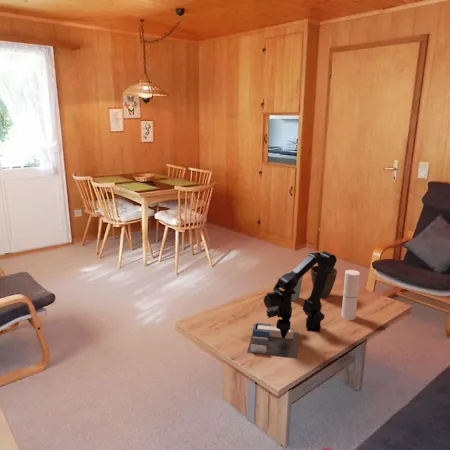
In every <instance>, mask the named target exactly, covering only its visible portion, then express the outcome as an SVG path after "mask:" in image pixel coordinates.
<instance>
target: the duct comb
mask: <svg viewBox="0 0 450 450" xmlns="http://www.w3.org/2000/svg"><path fill="white" fill-rule="evenodd" d="M258 325H263V326H272V324H271V323H263V322H262V323H261V322H256V323H253V327H252V334H251V338H250V340H249V344H248V346H247V350H246V353H247V354H254V355H263V356H271V357H280V358H285V359H286V358H288V359H295V360H296V359H297V360H298V350H299V337H300V335H299V334H300V333H299V332H296V331H295V332H294V333H293V339H288V338H279V337H270V331H265V330H257V328H258Z"/></svg>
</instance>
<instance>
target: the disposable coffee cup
mask: <svg viewBox="0 0 450 450" xmlns="http://www.w3.org/2000/svg"><path fill="white" fill-rule="evenodd" d="M290 272H291V271H288V272H287V271H286V273H290ZM303 279H304V276H302V277H301V278H300V279H299V280H298V283H297V286H296V287H295V288H294V289H293V290H294V291H295V292H296V294H292V302H293V301H298V300H299V298H300V295H301V294H300V292H301V288H302V283H303Z"/></svg>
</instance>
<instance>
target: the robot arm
mask: <svg viewBox="0 0 450 450" xmlns="http://www.w3.org/2000/svg"><path fill="white" fill-rule="evenodd" d="M337 259H338V258H337V257H336V255H335V254H332V253H330V252H328V251H326V250H325V251H321V252H310V253H308V255H307V257H305V258H304V260H302V261H301V262H300V263H299V264H298V265H297V266H296V267H295V268H293V270H292V271H291V272H290V273H287V272H285V274H283V275H281V276H280V277H279V278H278V280H277V282H276V283H275V285H274V287H273V288H272V291H273V292H267V293H266V295H265V296H264V298H263V304H264V306H265V308H266V316H267V318H269V319H270V318H274V317H277V318H278V319H277V320H276V326H275V327H276V328H278V329H280V331H281V336H282V338H285V336H286V334H287V333H288V331H289V330H290V328H291V321H290V320H291V318H292V314H293V307H292V305H293V304H292V302H293V301H292V294H296V292H295V291H294V290H293V289H294V288H295V287H296V286H297V283H298V280H299V279H300V278H301V277H304V275H306V274H307V273H308V272H309V271H311V268H312V267H313V266H316V264H317V266H318V268H319V270H318V273H317V276H316V280H315V283H314V286H313V285H312V289H311V293H310V296H308V298H305V299H304V301H303V304H302V310H303V312H304V314H305V315H306V316H307V317H306V319H305V320H306V321H305V328H306V331H308V332H318V333H320V332H321V322H322V321H323V320H325V314H324V313H322V311H321V310H322V302H321V299H322V298H321V296H322V293H323V289H324V286H325V283H326V280H327V276H328V273H329V272H330V271H331V270H332V269H333V268H334V267H335V266H336V263H337ZM280 288H281V289H280Z"/></svg>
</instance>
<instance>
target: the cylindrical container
mask: <svg viewBox="0 0 450 450" xmlns="http://www.w3.org/2000/svg"><path fill="white" fill-rule="evenodd" d="M360 277H361V273H360V271H358V270H355V269H346V270H345V271H344V282H343V283H344V284H343V294H342V304H341V305H342V306H341V315H340V316H341V318H342V319H344V320H347V321H354V320H356V318H357V317H356V315H357V306H358V298H359V296H358V294H359V286H360Z"/></svg>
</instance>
